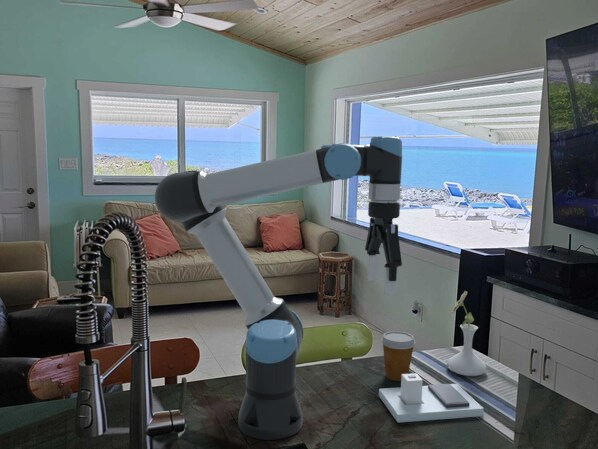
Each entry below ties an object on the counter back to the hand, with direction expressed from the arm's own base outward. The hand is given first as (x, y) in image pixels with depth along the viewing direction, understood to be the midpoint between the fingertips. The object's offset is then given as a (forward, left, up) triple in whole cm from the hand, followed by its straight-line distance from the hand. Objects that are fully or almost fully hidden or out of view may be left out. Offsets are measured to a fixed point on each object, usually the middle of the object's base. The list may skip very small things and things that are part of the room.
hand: (380, 286), depth 132 cm
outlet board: (+13, -3, -31) cm, 33 cm away
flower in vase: (+32, +15, -31) cm, 47 cm away
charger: (+8, -3, -31) cm, 32 cm away
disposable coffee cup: (+11, +15, -31) cm, 36 cm away
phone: (+18, -3, -29) cm, 34 cm away
